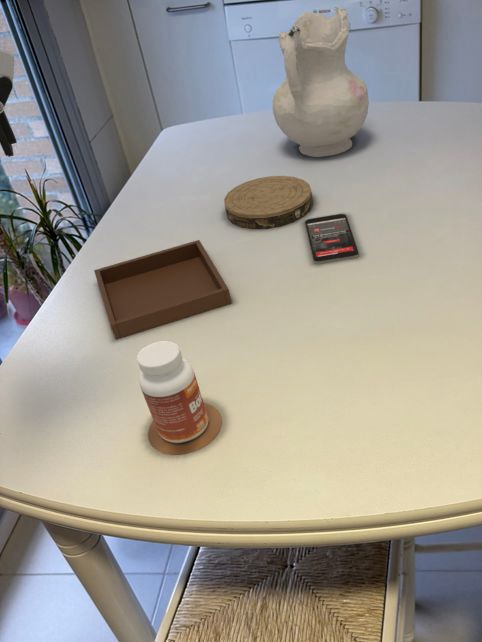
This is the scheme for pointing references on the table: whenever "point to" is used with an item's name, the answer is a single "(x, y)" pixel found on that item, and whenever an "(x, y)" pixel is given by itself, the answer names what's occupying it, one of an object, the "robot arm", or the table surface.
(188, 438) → the pill bottle
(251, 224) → the wood log slice
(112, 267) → the tray
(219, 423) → the coaster
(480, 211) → the table surface
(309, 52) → the ceramic pitcher
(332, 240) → the smartphone
